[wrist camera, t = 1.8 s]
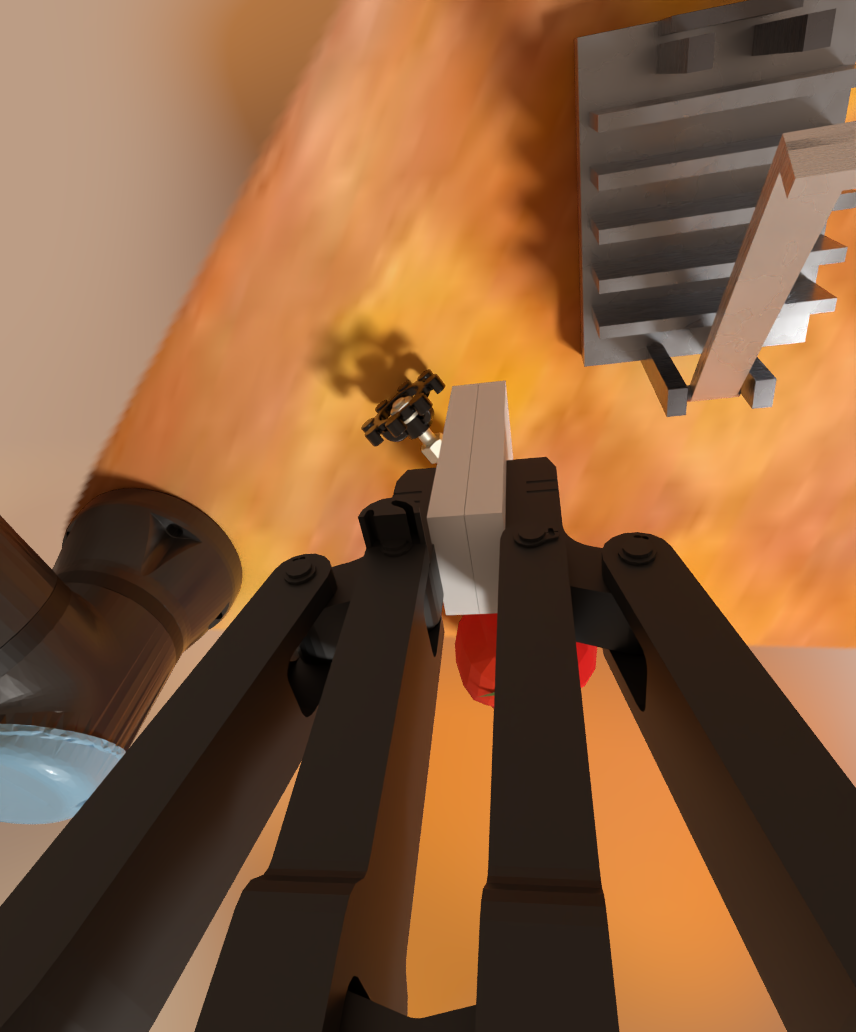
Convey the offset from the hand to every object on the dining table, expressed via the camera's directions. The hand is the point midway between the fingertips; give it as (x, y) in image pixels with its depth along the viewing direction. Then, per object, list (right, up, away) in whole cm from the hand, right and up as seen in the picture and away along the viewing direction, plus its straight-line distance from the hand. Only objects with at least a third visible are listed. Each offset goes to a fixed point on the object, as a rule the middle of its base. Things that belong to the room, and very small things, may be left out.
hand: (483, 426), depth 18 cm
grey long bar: (+13, +7, +10) cm, 18 cm away
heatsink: (+14, +15, +17) cm, 27 cm away
